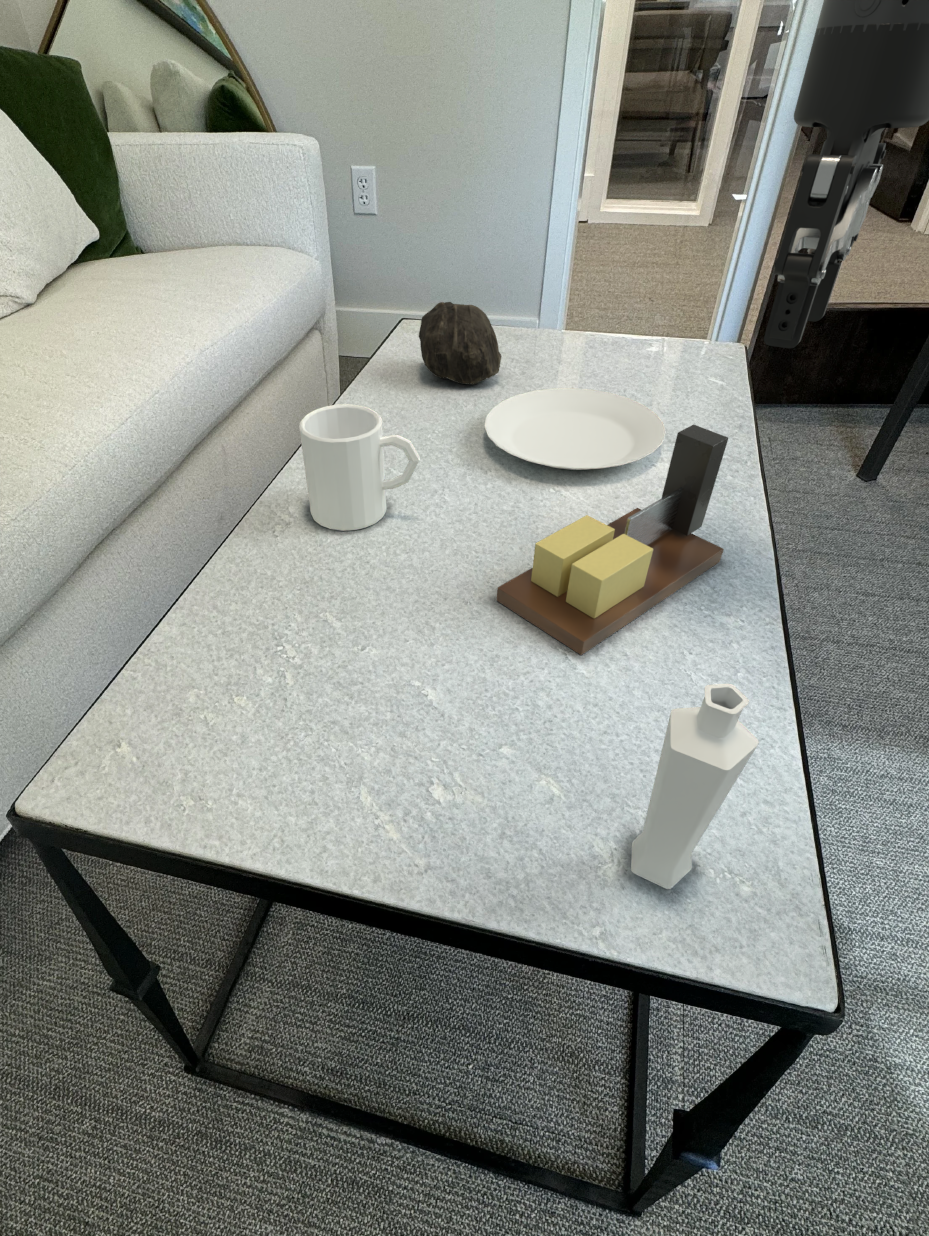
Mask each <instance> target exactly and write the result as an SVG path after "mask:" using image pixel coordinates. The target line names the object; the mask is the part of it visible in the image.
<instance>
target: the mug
mask: <svg viewBox="0 0 929 1236" xmlns="http://www.w3.org/2000/svg"><path fill="white" fill-rule="evenodd" d="M298 430H299V436H300V445H301V451H302V458H303V466H304V473H305V481H306V487H307V495H308V503H309V510H310V514H311V516H312V519H313V520H314V522H316V523H317V524H319V525H320V526H321V527H324V528H327V529H329V530H334V531H343V532H345V531H356V530H357V531H358V530H361V529H365V528H369V527H370V526H373V525H375V524H377V523H378V522H380V521H381V520H382V519H383V518H384V516H385V514H386V513H387V490H394V489H396V488H399V487H402V486H403V485H404V486H405V485H406V484H408V483H410V480H411V478H412V476H413V474H414V473H415V470H416V469H417V466H418V464H419V462H420V460H421V456H420V455H419V453H418V451H417V449H416V448H415V446H414V445H413V442H412V441H411V440H410V439H408V438H405V437H404V436H401V435H399V434H392V435H391V434H390V435H386V436H384V431H383V418H382V416H381V415H380V414H379V412H377V411H375V410H373V409H371V408H370V407H366V406H364V405H360V404H352V403H351V404H350V403H344V404H343V403H342V404H332V405H326V406H323V407H319V408H317V409H314V410H312V411H311V412H308V413H307V414H306V415H305V416H304V417H303V418H302V419H301V420H300V421H299V426H298ZM389 446H392V447H394V448H396V449H398V450H402V451H403V453H404V454H405V455H404V456H405V457H406V459H407V460H408V462H407V464H406V466H405V468H404V470H403V472H402V474H399V475H397V476H395V477H393V478H388V479H386V469H385V468H386V467H385V449H384V447H389Z"/></svg>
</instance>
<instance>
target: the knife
mask: <svg viewBox="0 0 929 1236" xmlns="http://www.w3.org/2000/svg"><path fill="white" fill-rule="evenodd" d="M728 441H729V437H728V436H726V435H723V434H720V433H717V432H715V431H712V430H709V429H707V428H704V427H703V426H699V425H696V424H691V425H690V426H688V427H686V428H684V429H682V430H680V431H678V432H677V435H676V439H675V443H674V445H673V450H672V455H671V458H670V464H669V467H668V470H667V474H666V478H665V482H664V486H663V490H662V494H661V498H660V499H658V500H656V501H655V502H653V503H651V504H649V505H647V506H646V507H644V508H641V511H639V512H637V513H636V514H634V515H632V516H630V517H629V518H628V519H627V524H626V528H625V533H624V534H625V535H627V536H629V537H631V538H633V539H635V540H637V541H639V542H641V543H643V544H645V545H648V544H650V543H651V542H653V541H655V540H656V539H658V538H660V537H661V536H663V535H665V534H666V533H668V532H669V531H671V530H672V529H674V530H676V531H678V532H680V533H682V534H684V535H686V536H688V535H689V534H691V533H692V534H693V533H694V532H696V531H698V530H699V529H701V528H702V527H703V524H704V520H705V517H706V514H707V511H708V507H709V504H710V501H711V496H712V494H713V490H714V488H715V484H716V480H717V477H718V474H719V470H720V469H721V465H722V461H723V457H724V454H725V451H726V447H727V444H728Z"/></svg>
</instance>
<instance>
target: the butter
mask: <svg viewBox="0 0 929 1236" xmlns="http://www.w3.org/2000/svg"><path fill="white" fill-rule="evenodd" d="M614 531H615V529H614V528H612V527H610V526H608V524H606V523H603V522H602V521H600V520H598V519H596V518H594V517H592V516H590V515H588V514H586V515H584V516H582V517H581V518H578V519H577V520H575V521H574V522H572V523H569V524H568V525H566V526H565V527H563V528H561V529H559V530H557V531H554V532H553V533H552V534H549V535H548V536H546V537H544V538H543V539H540V540H539V541H537V542H535V544H534V552H533V560H532V567H531V568H532V577H531V581H532V582H534V583H535V584H537V585H539V586H540V587H542V588H544V589H545V590H547V591H549V592H550V593H552V594H554V595H555V596H557V597H558V596H560V595H561V594H563V593H565V592H566V591H567V597H566V602H567V603H569V604H570V605H572V606H574V607H575V608H577V609H579V610H580V611H582V612H584V613H585V614H587V615H589V616H590V617H592V618H594V619H595V618H596V617H598V616H599V615H601V614H602V613H604V612H605V611H607V610H608V609H610V608H611V607H613V606H615V605H616V604H618V603H619V602H621V601H622V600H624V599H625V598H627V597H628V596H630V595H632V594H633V593H635V592H636V591H638V590H639V589H641V588H642V587H644V584H645V580H646V576H647V572H648V568H649V564H650V560H651V556H652V552H653V548H651V547H649V546H647V545H645V544H643V543H641V542H639V541H637V540H635V539H633V538H631V537H629V536H627V535H625V534H622V535H620V536H619V537H617V538H615V539H614V540H613V536H614Z"/></svg>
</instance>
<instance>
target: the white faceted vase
mask: <svg viewBox="0 0 929 1236" xmlns="http://www.w3.org/2000/svg"><path fill="white" fill-rule="evenodd" d="M703 690H704V697H703V699H702V702H701V704H700V706H694V707H693V706H692V707H679V708H676V707H675V708H672V709H671V710H670V713H669V718H668V721H667V726H666V730H665V735H664V739H663V743H662V748H661V751H660V756H659V760H658V764H657V769H656V771H655V772H656V773H655V776H654V782H653V786H652V790H651V794H650V798H649V802H648V807H647V811H646V815H645V820H644V824H643V828H642V832H641V833H639V835H637V837H635V838H634V840H632V843H631V862H630V871H631V873H632V874H634V875H635V876H638V877H640V878H643V879H645V880H647V881H649V882H651V883H653V884H655V885H657V886H659V887H661V888H663V889H666V890H671V889H672V888H674V887H675V885H677V884H678V883H679V882H680V881H681V880H682V879H683V878H684V877H685V876H686V875H687V874H688V873H690V871H691V870H692V869H693V864H692V862H693V861H692V853H693V852H694V850H695V849H696V847H697V846H698V843H699V842H700V840H701V839H702V837H703V836H704V834H705V832H706V830H707V829H708V828H709V826H710V825H711V823H712V821H713V819H714V818H715V817H716V814H717V812H718V811H719V810H720V808H721V806H722V805H723V803H724V802H725V800H726V798H727V797H728V795H729V793H730V791H731V790H732V788H733V786H734V785H735V783H736V782H737V780H738V778H739V777H740V775H741V773H743V770H744V769H745V767H746V765H747V764H748V762H749V760H750V759H751V758H752V756H753V754H754V753H755V752H756V751H755V750H756V749H757V747H758V746H759V744H760V741H759V739H758V738H757V737H756V736H755V735H754V734H753V733H752V732H751V731H750V730H749V728H747V727H746V726H745V725H744V724H743V723H742V722H741V721H740V720H739V719H740V717H741V715H742V712H743V710H744V708H746V707H747V706H748V705H749V704H750V700H749V698H748V697H747V696H746V695H745V694H744V693H743V692H742V691H741V690H740V689H738V687H737V686H735V685H734V684H732V683H717V684H716V683H715V684H707V685H705V686H704V689H703Z"/></svg>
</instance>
